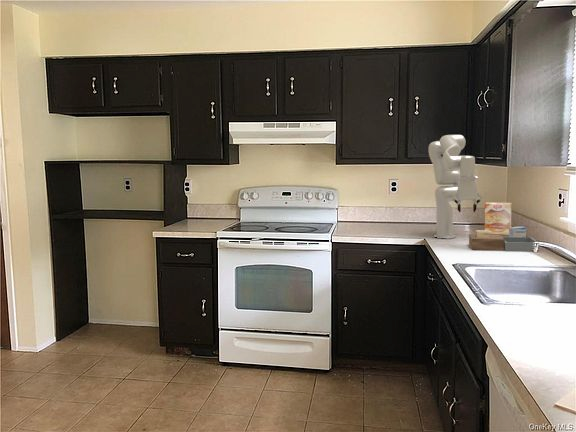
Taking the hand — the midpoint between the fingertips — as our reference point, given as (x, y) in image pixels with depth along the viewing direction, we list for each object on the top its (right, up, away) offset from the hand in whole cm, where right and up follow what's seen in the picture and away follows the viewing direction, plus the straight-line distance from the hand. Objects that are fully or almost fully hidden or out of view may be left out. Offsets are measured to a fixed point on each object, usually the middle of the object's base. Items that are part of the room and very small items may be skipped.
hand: (466, 211), depth 268 cm
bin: (+26, -20, -4) cm, 33 cm away
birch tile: (+8, -14, 0) cm, 16 cm away
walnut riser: (+10, -20, 0) cm, 22 cm away
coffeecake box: (+36, -14, +44) cm, 59 cm away
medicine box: (+34, -17, +13) cm, 40 cm away
